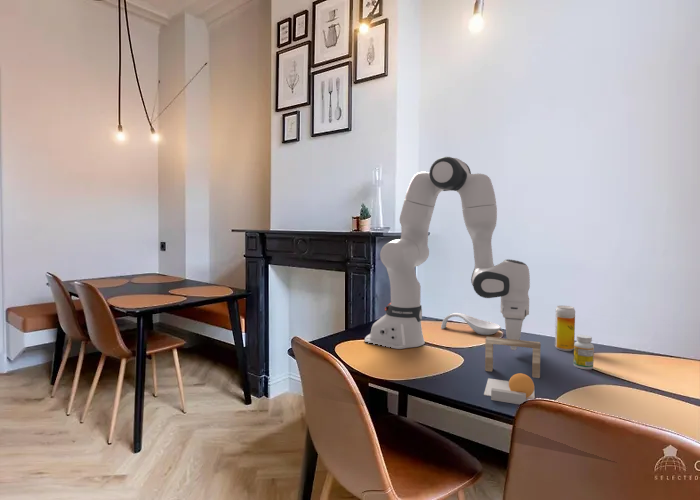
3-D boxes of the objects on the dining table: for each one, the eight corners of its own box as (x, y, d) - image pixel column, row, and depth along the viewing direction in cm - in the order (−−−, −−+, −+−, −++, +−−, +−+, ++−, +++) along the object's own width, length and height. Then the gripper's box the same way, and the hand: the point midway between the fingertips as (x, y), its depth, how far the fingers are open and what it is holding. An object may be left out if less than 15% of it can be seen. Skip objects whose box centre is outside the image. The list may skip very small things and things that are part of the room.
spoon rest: (502, 332, 168) (502, 314, 167) (497, 339, 157) (498, 320, 157) (446, 325, 179) (446, 309, 179) (438, 331, 169) (438, 314, 168)
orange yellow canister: (576, 352, 140) (577, 309, 139) (557, 351, 141) (558, 308, 140) (570, 346, 146) (572, 305, 145) (552, 345, 147) (553, 305, 146)
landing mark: (483, 395, 105) (483, 394, 105) (488, 379, 116) (488, 378, 116) (534, 403, 100) (534, 402, 100) (534, 385, 111) (534, 384, 111)
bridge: (539, 378, 117) (540, 344, 116) (485, 370, 123) (485, 339, 122) (539, 374, 119) (540, 342, 119) (486, 367, 125) (486, 336, 125)
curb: (491, 399, 102) (491, 390, 102) (491, 397, 104) (491, 388, 103) (525, 405, 99) (525, 395, 99) (525, 402, 100) (526, 393, 100)
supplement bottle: (591, 371, 122) (592, 339, 121) (571, 367, 125) (572, 336, 125) (594, 366, 126) (595, 335, 125) (575, 362, 129) (576, 333, 129)
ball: (507, 397, 102) (508, 373, 103) (509, 393, 107) (510, 370, 108) (533, 402, 99) (534, 377, 100) (534, 397, 105) (535, 373, 105)
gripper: (506, 302, 146) (505, 339, 147) (502, 313, 128) (501, 356, 129) (525, 303, 144) (524, 341, 145) (524, 315, 125) (523, 359, 126)
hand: (513, 348), depth 136 cm, fingers closed
